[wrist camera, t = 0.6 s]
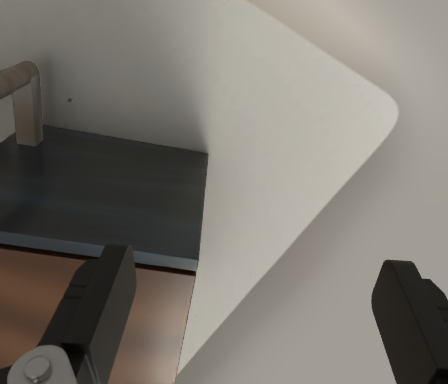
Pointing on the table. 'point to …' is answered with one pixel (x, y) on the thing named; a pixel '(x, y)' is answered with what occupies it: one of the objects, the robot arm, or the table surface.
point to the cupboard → (135, 327)
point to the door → (95, 187)
